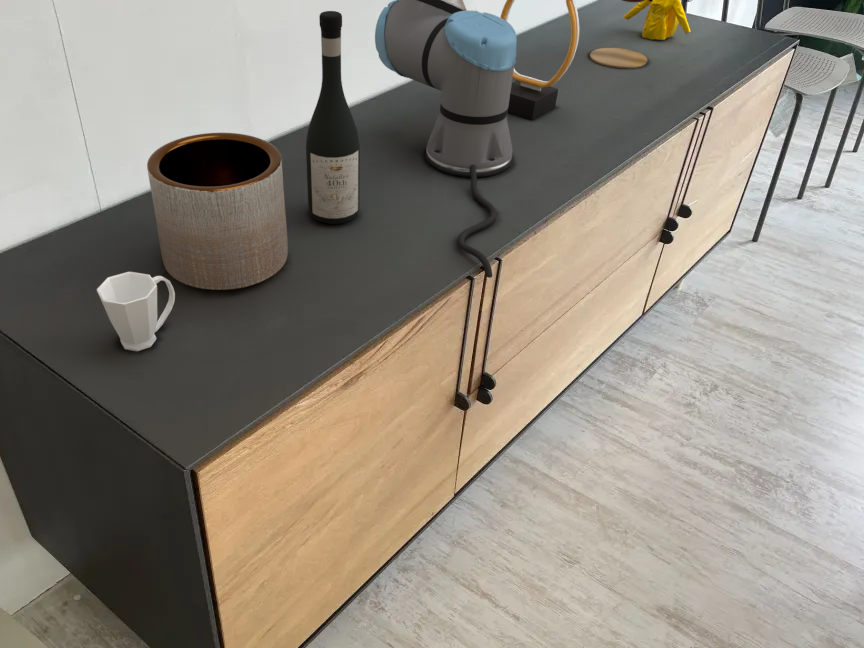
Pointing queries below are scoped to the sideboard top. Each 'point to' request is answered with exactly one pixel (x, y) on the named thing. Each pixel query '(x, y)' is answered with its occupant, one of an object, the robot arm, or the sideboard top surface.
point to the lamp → (536, 94)
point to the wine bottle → (332, 138)
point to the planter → (219, 210)
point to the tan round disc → (618, 58)
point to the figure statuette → (661, 18)
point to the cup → (134, 307)
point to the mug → (633, 0)
